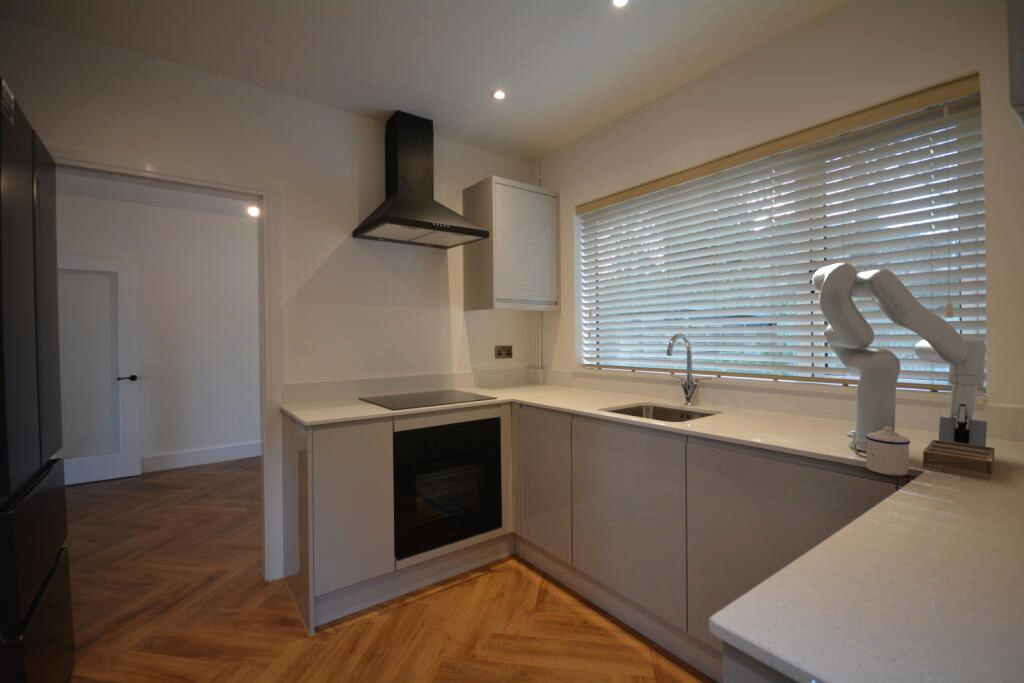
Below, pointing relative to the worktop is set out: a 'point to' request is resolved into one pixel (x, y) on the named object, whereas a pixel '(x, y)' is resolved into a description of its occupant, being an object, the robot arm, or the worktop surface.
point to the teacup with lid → (886, 452)
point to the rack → (959, 458)
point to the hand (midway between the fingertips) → (961, 441)
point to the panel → (975, 426)
